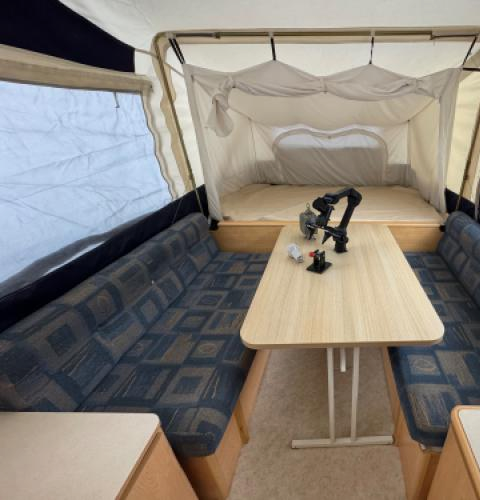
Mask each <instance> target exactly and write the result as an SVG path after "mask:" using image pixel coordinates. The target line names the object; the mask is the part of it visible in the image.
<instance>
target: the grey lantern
mask: <svg viewBox="0 0 480 500" xmlns="http://www.w3.org/2000/svg"><path fill="white" fill-rule="evenodd" d="M305 205H306V209H305V210H304V211H303V212H301V213H299V214H298V215H299V216H298V217H299V218H298V219H299V220H298V221H299V230H300V232H301V233H302V235H304V238H305V239H308V228H307V227H306V226H307V225H305V222H306V221H307V220H308V221H311V217H317V216H318V214H316V212H314V211H313V210H312V209H311V204H310V203H309V202H306V204H305ZM318 232H319V228H315V232H314V234H313V236H312V238H313V240H314V241H316V240H317V238H316V237H315V236H314V235H318V234H319V233H318Z"/></svg>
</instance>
